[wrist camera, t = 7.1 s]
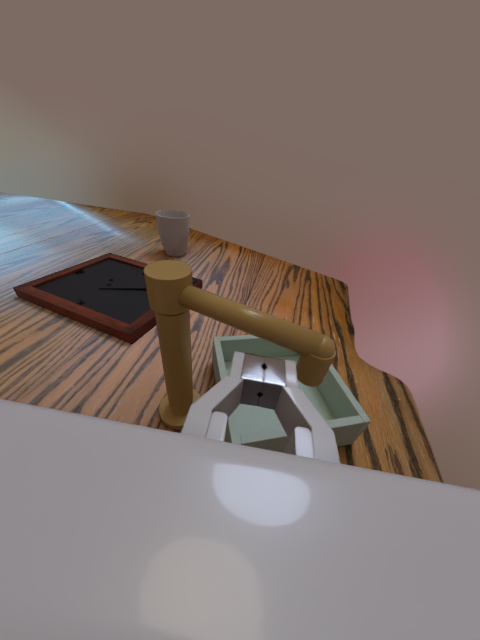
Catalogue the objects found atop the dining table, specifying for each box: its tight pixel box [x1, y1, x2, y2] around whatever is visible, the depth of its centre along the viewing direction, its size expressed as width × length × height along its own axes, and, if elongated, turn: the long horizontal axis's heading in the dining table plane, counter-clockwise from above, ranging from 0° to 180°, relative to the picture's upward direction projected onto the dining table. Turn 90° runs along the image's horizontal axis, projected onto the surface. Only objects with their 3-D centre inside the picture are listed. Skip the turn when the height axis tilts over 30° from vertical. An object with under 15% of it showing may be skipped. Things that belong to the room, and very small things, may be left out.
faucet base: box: [155, 310, 201, 430], centre depth 22 cm, size 5×5×14 cm
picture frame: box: [13, 253, 202, 344], centre depth 43 cm, size 20×2×25 cm
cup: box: [156, 210, 190, 257], centre depth 59 cm, size 8×8×10 cm
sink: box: [212, 335, 371, 453], centre depth 27 cm, size 14×14×5 cm
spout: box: [144, 260, 336, 387], centre depth 15 cm, size 14×3×4 cm, turn 62°
